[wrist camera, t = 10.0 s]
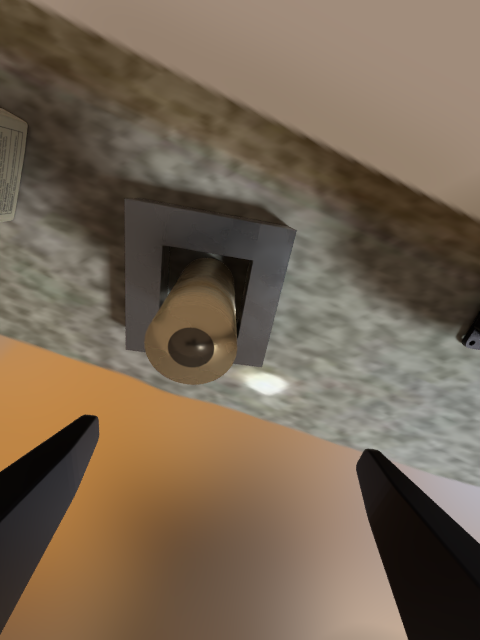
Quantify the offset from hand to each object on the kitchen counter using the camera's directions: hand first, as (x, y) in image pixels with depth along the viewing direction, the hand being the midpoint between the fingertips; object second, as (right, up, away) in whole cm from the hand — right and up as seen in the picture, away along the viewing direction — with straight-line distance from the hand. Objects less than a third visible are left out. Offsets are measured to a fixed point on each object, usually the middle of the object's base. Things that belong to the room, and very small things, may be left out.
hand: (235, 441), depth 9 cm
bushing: (-2, +7, +11) cm, 13 cm away
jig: (-2, +7, +11) cm, 13 cm away
